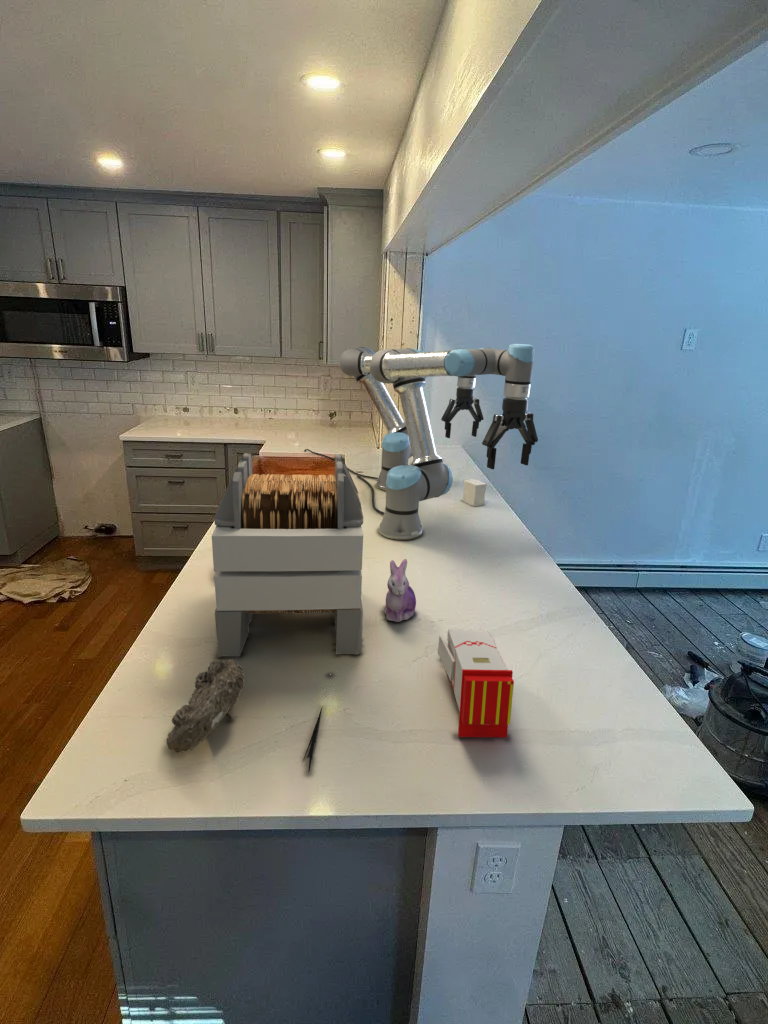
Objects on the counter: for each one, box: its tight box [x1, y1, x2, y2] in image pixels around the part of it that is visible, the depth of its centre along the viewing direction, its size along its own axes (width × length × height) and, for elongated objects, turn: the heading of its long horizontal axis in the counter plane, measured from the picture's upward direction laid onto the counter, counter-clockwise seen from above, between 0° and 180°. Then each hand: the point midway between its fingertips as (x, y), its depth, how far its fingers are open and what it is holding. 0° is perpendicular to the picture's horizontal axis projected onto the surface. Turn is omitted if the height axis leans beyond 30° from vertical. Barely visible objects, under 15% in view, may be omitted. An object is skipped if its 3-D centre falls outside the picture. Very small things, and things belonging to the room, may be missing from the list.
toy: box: [437, 628, 515, 738], centre depth 117 cm, size 12×13×30 cm
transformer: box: [211, 452, 364, 658], centre depth 136 cm, size 34×33×41 cm
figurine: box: [384, 558, 417, 623], centre depth 145 cm, size 9×10×15 cm
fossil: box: [166, 658, 245, 754], centre depth 106 cm, size 22×10×15 cm
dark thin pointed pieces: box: [301, 673, 332, 771], centre depth 108 cm, size 2×28×2 cm
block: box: [462, 478, 487, 507], centre depth 234 cm, size 5×8×9 cm
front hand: (507, 466), depth 177 cm, fingers open, 13 cm apart
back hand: (460, 436), depth 248 cm, fingers open, 13 cm apart
